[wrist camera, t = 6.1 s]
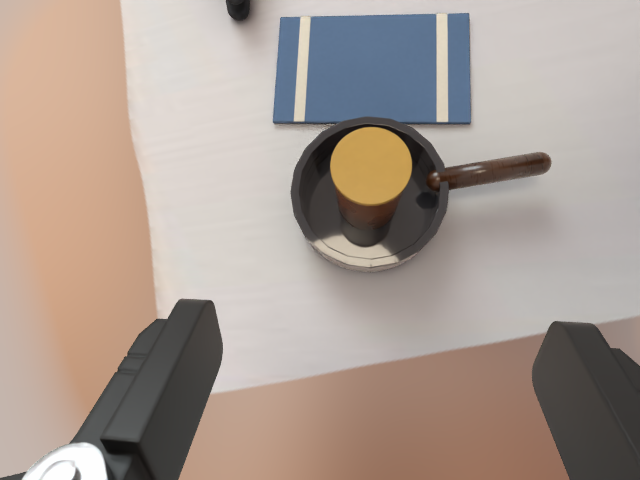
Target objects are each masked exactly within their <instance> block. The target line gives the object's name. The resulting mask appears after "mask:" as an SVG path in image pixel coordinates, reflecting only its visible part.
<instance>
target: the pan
mask: <svg viewBox="0 0 640 480" xmlns="http://www.w3.org/2000/svg"><path fill="white" fill-rule="evenodd" d="M367 127H377V128H382V129H386V130H388V131H390V132H392V133H394V134H395V135H397V136H398V137H399V138H400V139H401V140H402V141H403V142H404V143H405V144H406V146H407V148H408V150H409V152H410V155H411V159H412V172H411V176H410V179H409V182H408V184H407V186H406V187H405V189H404V190H403V193H402V196H401V198H400V201H399V203H398V206H397V209H396V211H395V213H394V215H393V217H392V218H391V220H390V221H389V222H388V223H387V224H385V225H384V226H382V227H380V228H377V229H374V230H361V229H358V228H355V227H353V226H351V225H350V224H348V223H347V222H346V221H345V220H344V218H343V217H342V215H341V213H340V211H339V207H338V202H337V197H336V191H335V185H334V182H333V180H332V176H331V170H330V162H331V157H332V154H333V151H334V149H335V147H336V146H337V144H338V143H339V142H340V141H341V140H342V139H343V138H344V137H345V136H346V135H348V134H349V133H351V132H353V131H355V130H358V129H361V128H367ZM433 170H436V172H437V173H438V172H444V171H445V167H444V164H443V162H442V160H441V158H440V157H439V155H438V154H437V152H436V150H435V149H434V147H433V146H432V144H431V143H430V142H429V141H428V140H427V139H425V138H424V137H423V136H422V135H421V134H419V133H418V132H417V131H416V130H415V129H413V128H412V127H410V126H407V125H405V124H403V123H400V122H398V121H395V120H393V119H390V118H380V117H370V116H367V117H366V116H365V117H360V118H355V119H349V120H344V121H341V122H339V123H338V124H336V125H334V126H332V127H330V128H328V129H326V130H324V131H322V132H321V133H320V134H319V135H318V136H317V137H316V138H315V139H314V140H313V141H312V142H311V143H310V144H309V145H308V146H307V147H306V148H305V150H304V152H303V154H302V156H301V158H300V159H299V161H298V163H297V165H296V167H295V170H294V174H293V180H292V186H291V199H292V205H293V212H294V216H295V218H296V220H297V222H298V224H299V226H300V228H301V230H302V231H303V233H304V235H305V237H306V238H307V240H308V241H309V243H310V244H311V245H312V246H313V247H314V248H315V249H316V250H317V251H318V252H319V253H320V254H321V255H322V256H323V257H324V258H325V259H327V260H329V261H331V262H332V263H334V264H336V265H338V266H341V267H343V268H345V269H349V270H354V271H360V272H375V271H382V270H387V269H391V268H394V267H396V266H398V265H400V264H402V263H404V262H406V261H407V260H409V259H411V258H413V257H414V256H415V255H416V254H417V253H418V252H419V251H420V250H421V249H422V248H423V247H424V246H425V245H426V244H427V243H428V242H429V241H430V240H431V238H432V237H433V236H434V235H435V234H436V233H437V231H438V229H439V227H440V224H441V222H442V220H443V218H444V216H445V214H446V211H447V204H448V194H449V184H448V181H445V182H439V190H438V192H434V191H431V190H430V189H429V188H428V187H427V185H426V177H427V175H428V174H429V173H430V172H431V171H433Z"/></svg>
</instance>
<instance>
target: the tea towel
mask: <svg viewBox="0 0 640 480" xmlns="http://www.w3.org/2000/svg"><path fill="white" fill-rule="evenodd" d="M365 116H366V117H367V116H370V117H380V118H390V119H393V120H395V121H398V122H400V123H403V124H470V123H471V106H470V46H469V13H459V14H447V13H437V14H412V15H366V16H319V17H311V16H301V17H281V18H280V32H279V45H278V59H277V72H276V86H275V99H274V113H273V123H339V122H341V121H344V120H349V119H355V118H360V117H365Z"/></svg>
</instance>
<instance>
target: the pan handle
mask: <svg viewBox="0 0 640 480" xmlns="http://www.w3.org/2000/svg"><path fill="white" fill-rule="evenodd" d="M550 167H551V158H550V157H549V155H547V154H546V153H543V152H536V153H530V154H524V155H518V156H512V157H506V158H501V159H495V160H489V161H483V162H477V163H471V164H465V165H459V166H453V167H447V168H445V171H444V172H438V173H437V172H436V170H433V171H431V172H430V173H429V174H428V175H427V177H426V185H427V187H428V188H429V189H430V190H431V191H434V192H438V190H439V182H445V181H448V184H449V190H452V189H458V188H464V187H470V186H476V185H482V184H488V183H494V182H500V181H506V180H512V179H519V178H525V177H531V176H537V175H542V174H544V173H546V172H547V171H548V170H549V169H550Z"/></svg>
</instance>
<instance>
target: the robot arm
mask: <svg viewBox="0 0 640 480" xmlns="http://www.w3.org/2000/svg"><path fill="white" fill-rule="evenodd" d="M222 353H223V343H222V338H221V333H220V329H219V324H218V319H217V315H216V310H215V306H214V303H213V302H212V301H211V300H197V299H180V300H179V301H178V302H177V303H176V305H175V307H174V308H173V310H172V312H171V314H170V315H169V317H168V319H156V320H155V321H154V322H153V323H152V324H150V325H149V326H148V327H147V328H146V329H145V330H143V331H142V332H141V333H140V334H139V335H138V337H137V338H136V340H135V342H134V343H133V345H132V346H131V348H130V349H129V351H128V355H127V357H124V359H123V361H122V362H121V364H120V366H119V367H118V371H117V372H115V374H114V375H113V377H112V378H111V380H110V382H109V383H108V385H107V386H106V388H105V389H104V391H103V393H102V394H101V396H100V397H99V399H98V401H97V402H96V404H95V405H94V407H93V409H92V410H91V412H90V414H89V415H88V417H87V418H86V420H85V422H84V423H83V425H82V426H81V428H80V430H79V431H78V433H77V434H76V435H75V437H74V438H73V440H72V441H71V442H70V443H69V444H67V445H64V446H61V447H59V448H57V449H55V450H53V451H51V452H49V453H48V454H47V455H45V456H43V457H42V458H41V459H40V460H38V461H37V462H36V463H35V464H34V465H33V466H32V467H31V468H30V469H29V470H28V471H27V472H23V473H20V474H16V475H12V476H7V477H3V478H0V480H178V479H179V476H180V473H181V471H182V468H183V465H184V463H185V460H186V457H187V454H188V452H189V449H190V446H191V444H192V440H193V438H194V435H195V433H196V430H197V427H198V425H199V422H200V419H201V417H202V414H203V411H204V408H205V406H206V403H207V400H208V397H209V395H210V392H211V390H212V387H213V384H214V381H215V379H216V376H217V373H218V371H219V368H220V365H221V360H222ZM532 381H533V387H534V390H535V393H536V396H537V398H538V401H539V403H540V406H541V408H542V411H543V413H544V416H545V418H546V421H547V423H548V426H549V428H550V431H551V433H552V436H553V438H554V441H555V443H556V446H557V449H558V451H559V454H560V456H561V459H562V461H563V464H564V466H565V469H566V471H567V473H568V476H569V479H570V480H640V366H639V365H638V364H637V363H635V362H634V361H633V360H632V359H631V358H630V357H629V356H627V355H626V354H625V353H624V352H623V351H621V350H620V349H616V348H610V346H609V345H608V343H607V342H606V340H605V339H604V337H603V335H602V334H601V332H600V331H599V329H598V328H597V327H596V326H595V325H593V324H591V323H578V322H560V321H555V322H553V323H552V324H551V325H550V327H549V329H548V331H547V334H546V336H545V338H544V341H543V343H542V345H541V348H540V350H539V352H538V355H537V357H536V359H535V362H534V364H533V370H532Z"/></svg>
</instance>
